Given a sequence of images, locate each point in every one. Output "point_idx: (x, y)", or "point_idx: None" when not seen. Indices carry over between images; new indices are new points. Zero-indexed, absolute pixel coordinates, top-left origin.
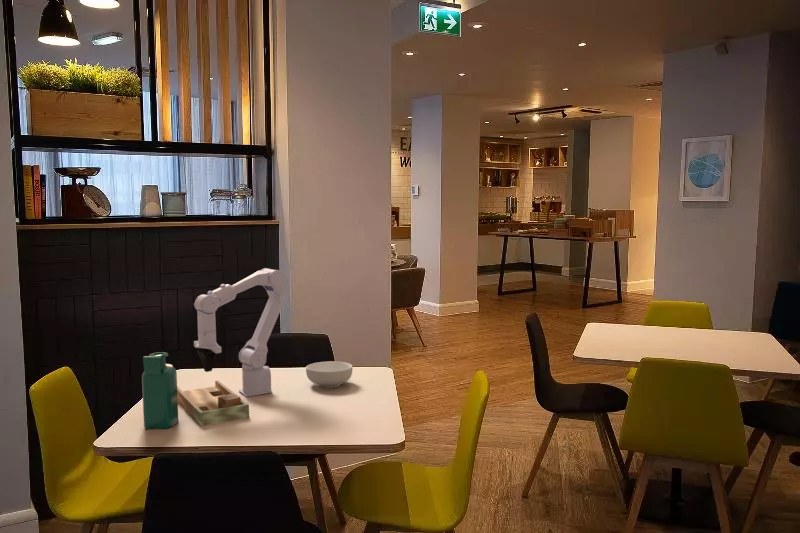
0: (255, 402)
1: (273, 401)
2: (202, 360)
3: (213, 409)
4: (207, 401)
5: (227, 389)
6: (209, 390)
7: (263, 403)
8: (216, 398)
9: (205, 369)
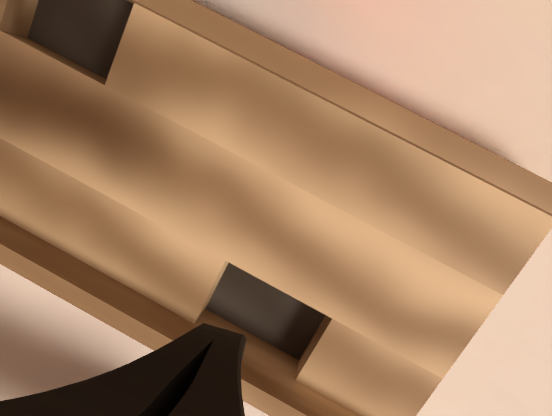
0: (57, 350)
1: (4, 398)
2: (194, 404)
3: (16, 62)
4: (175, 162)
5: (158, 340)
6: (361, 352)
7: (15, 354)
8: (178, 238)
9: (199, 331)
